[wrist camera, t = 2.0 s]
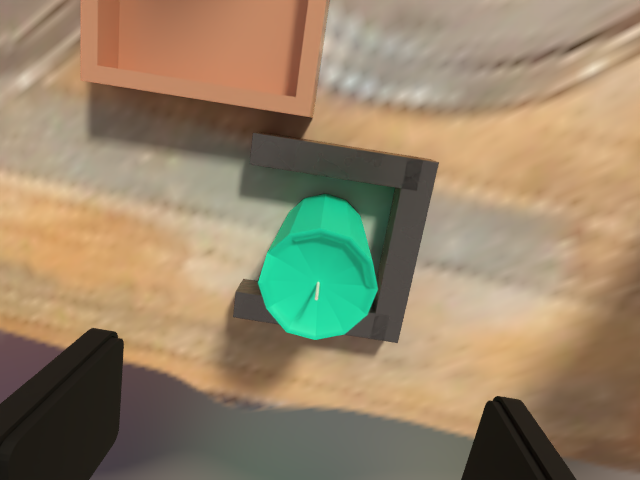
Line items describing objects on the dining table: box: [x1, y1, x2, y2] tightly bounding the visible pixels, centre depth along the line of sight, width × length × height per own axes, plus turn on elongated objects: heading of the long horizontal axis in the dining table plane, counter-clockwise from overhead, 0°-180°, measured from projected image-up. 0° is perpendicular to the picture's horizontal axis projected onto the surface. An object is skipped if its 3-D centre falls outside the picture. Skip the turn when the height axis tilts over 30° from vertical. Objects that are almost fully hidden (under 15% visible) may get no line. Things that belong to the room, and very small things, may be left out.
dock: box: [233, 132, 439, 343], centre depth 30 cm, size 12×13×2 cm
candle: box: [258, 194, 378, 340], centre depth 25 cm, size 6×6×12 cm
